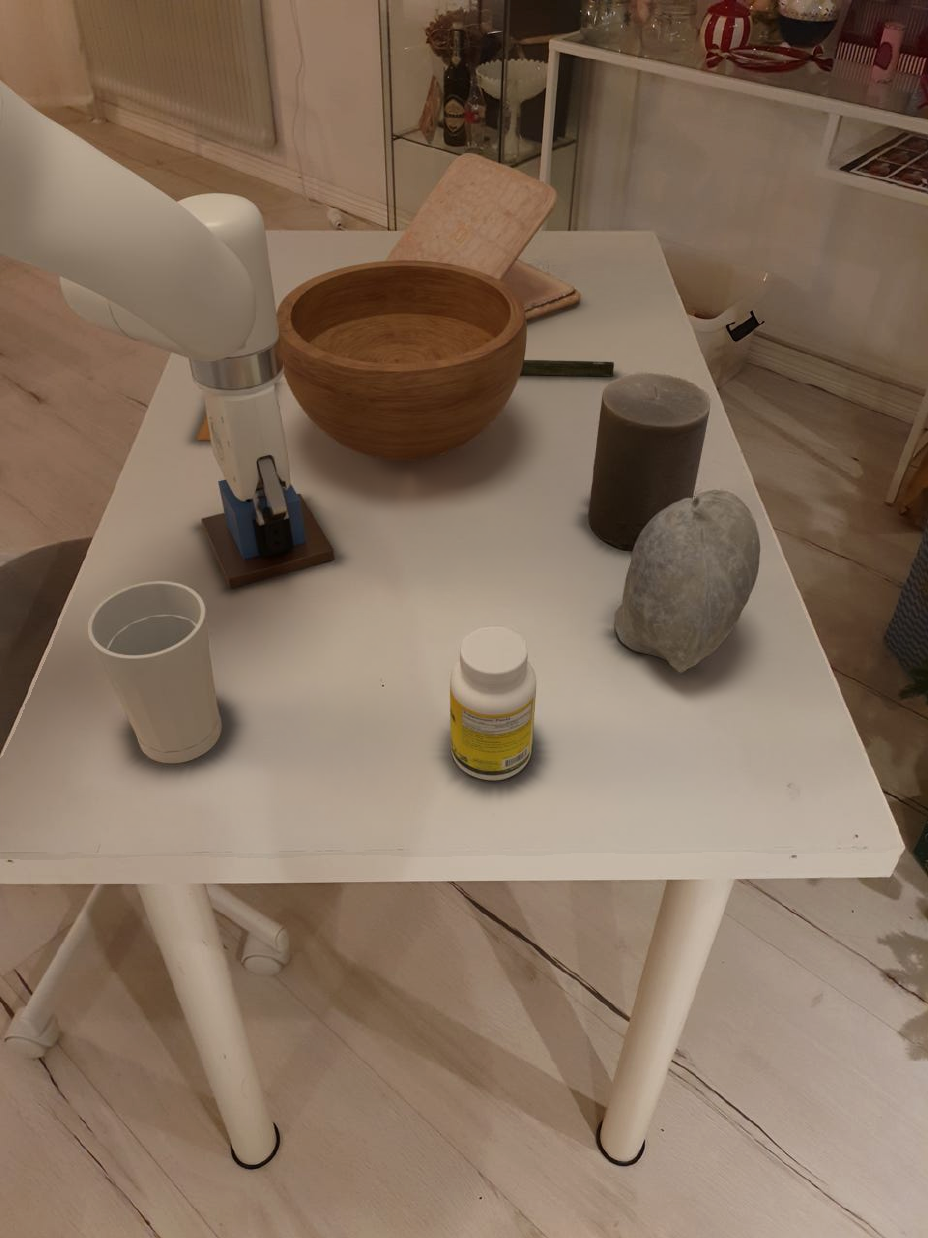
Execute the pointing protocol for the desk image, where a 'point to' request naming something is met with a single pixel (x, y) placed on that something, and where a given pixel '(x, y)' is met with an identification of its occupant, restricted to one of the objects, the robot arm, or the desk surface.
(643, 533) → the decorative stone
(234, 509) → the collar block
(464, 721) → the pill bottle
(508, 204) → the case
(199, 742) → the cup
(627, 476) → the pillar candle
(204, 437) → the board
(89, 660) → the desk surface
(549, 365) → the rod
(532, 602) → the desk surface
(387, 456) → the bowl
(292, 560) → the dowel stand
